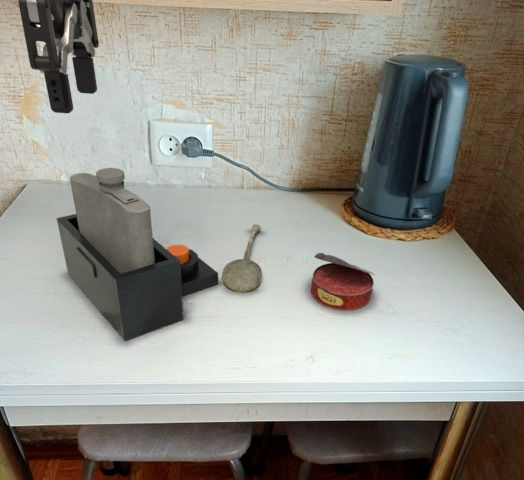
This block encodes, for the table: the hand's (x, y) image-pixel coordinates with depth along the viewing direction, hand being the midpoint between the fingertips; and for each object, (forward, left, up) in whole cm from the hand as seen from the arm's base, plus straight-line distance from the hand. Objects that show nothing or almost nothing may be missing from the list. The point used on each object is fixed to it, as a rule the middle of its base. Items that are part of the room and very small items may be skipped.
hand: (76, 101), depth 58 cm
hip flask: (+3, +2, -29) cm, 30 cm away
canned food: (+33, -15, -29) cm, 47 cm away
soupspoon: (+27, +2, -29) cm, 40 cm away
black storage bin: (+3, +3, -29) cm, 30 cm away
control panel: (+13, +3, -29) cm, 32 cm away
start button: (+13, +3, -26) cm, 29 cm away
